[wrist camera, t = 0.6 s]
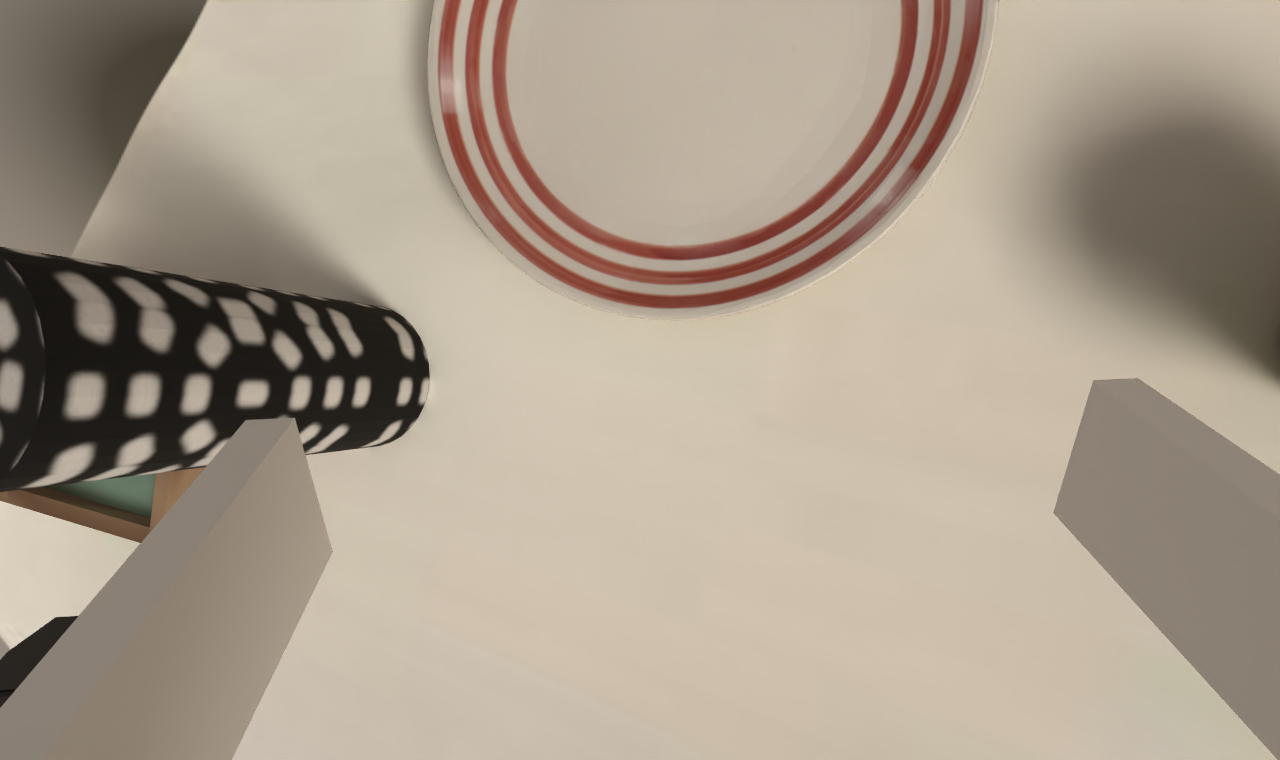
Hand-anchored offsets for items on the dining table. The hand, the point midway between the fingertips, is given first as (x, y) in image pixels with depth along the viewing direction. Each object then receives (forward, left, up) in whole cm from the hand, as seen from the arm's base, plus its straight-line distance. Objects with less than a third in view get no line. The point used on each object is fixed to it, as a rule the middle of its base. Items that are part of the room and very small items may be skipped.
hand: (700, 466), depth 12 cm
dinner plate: (-17, -9, -24) cm, 31 cm away
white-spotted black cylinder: (+2, -26, -24) cm, 35 cm away
